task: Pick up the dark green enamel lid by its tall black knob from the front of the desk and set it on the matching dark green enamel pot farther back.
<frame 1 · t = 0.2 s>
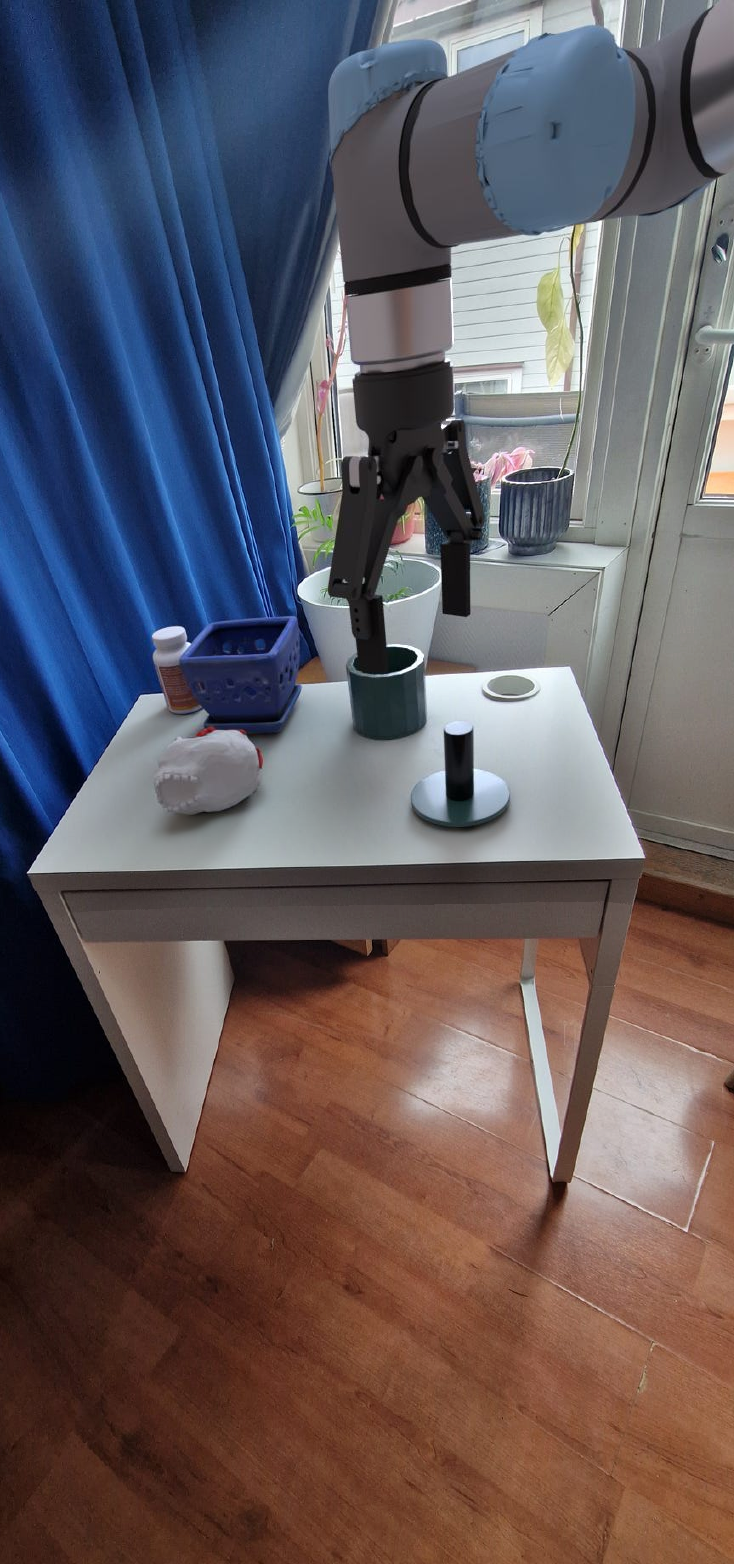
hand: (417, 641, 67), 19 cm above the table, tool pointing down, fingers open, 13 cm apart
pot: (390, 721, 96), on the table
pill bottle: (188, 706, 108), on the table
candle: (224, 796, 88), on the table
lid: (459, 798, 79), point 1 cm above the table
flower pot: (257, 720, 102), on the table
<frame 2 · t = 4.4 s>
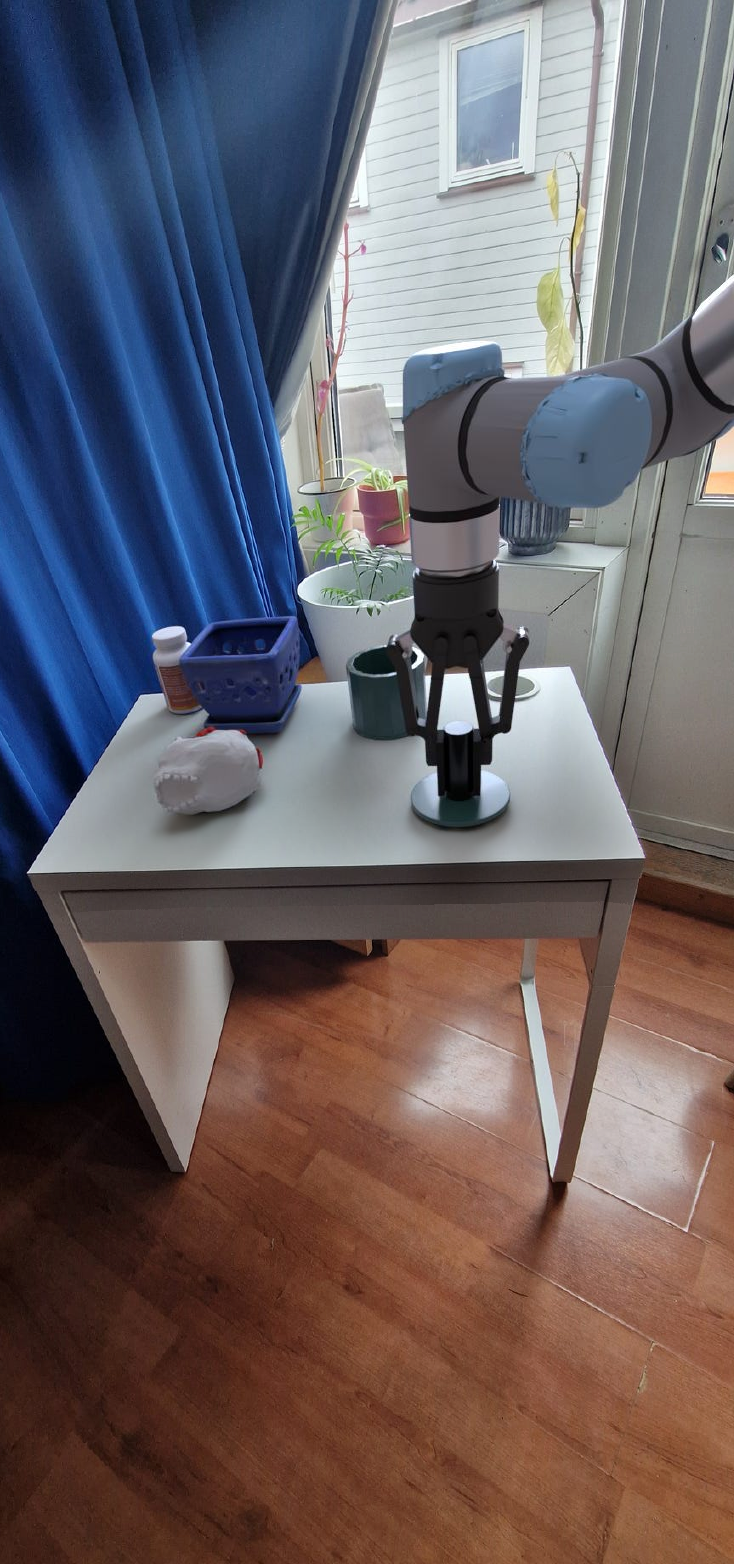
hand: (459, 788, 79), 2 cm above the table, tool pointing down, fingers closed on lid, 3 cm apart
lid: (459, 798, 79), point 1 cm above the table, touching gripper
everything else where it was.
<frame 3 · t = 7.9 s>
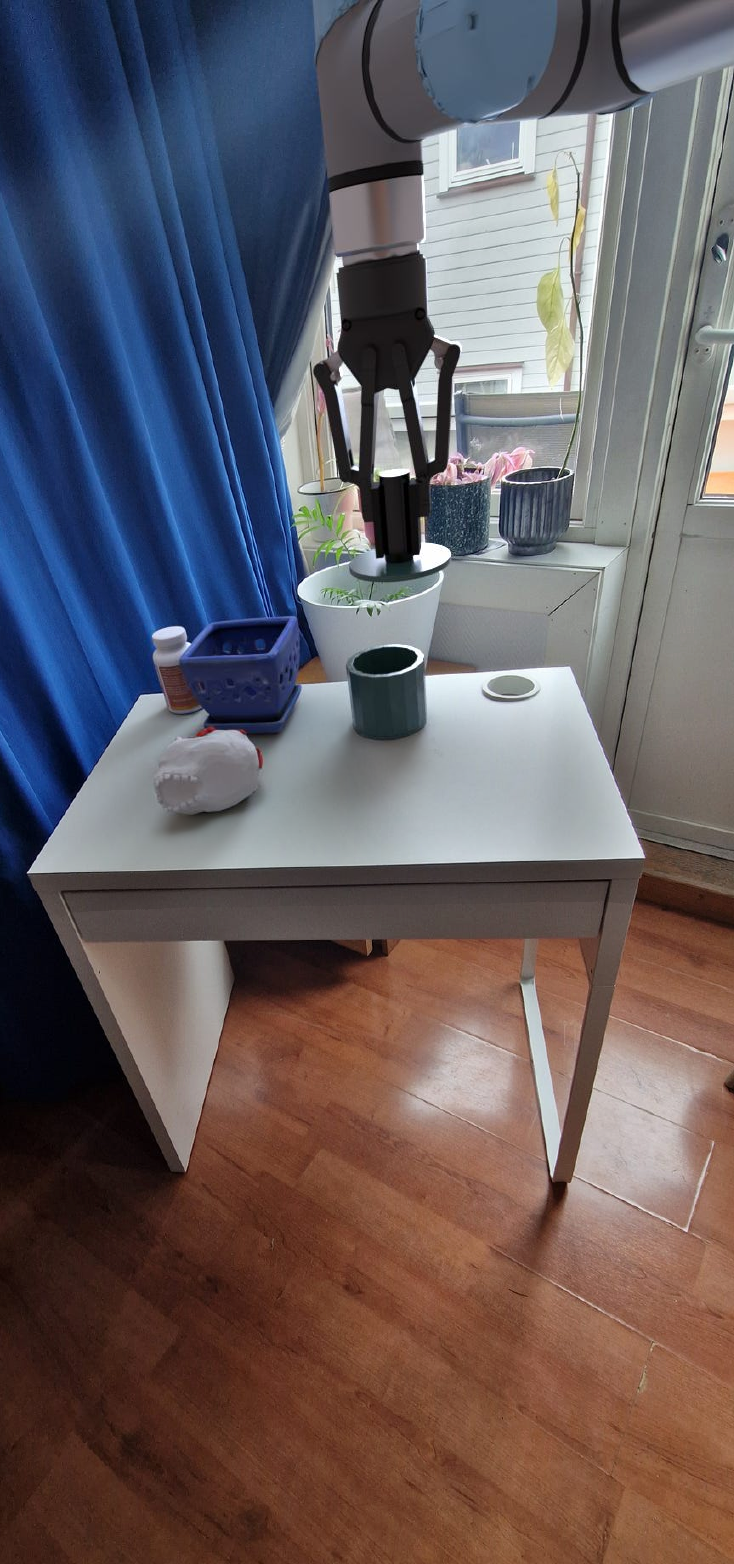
hand: (399, 552, 75), 23 cm above the table, tool pointing down, fingers closed on lid, 3 cm apart
lid: (399, 564, 76), point 22 cm above the table, touching gripper
everything else where it was.
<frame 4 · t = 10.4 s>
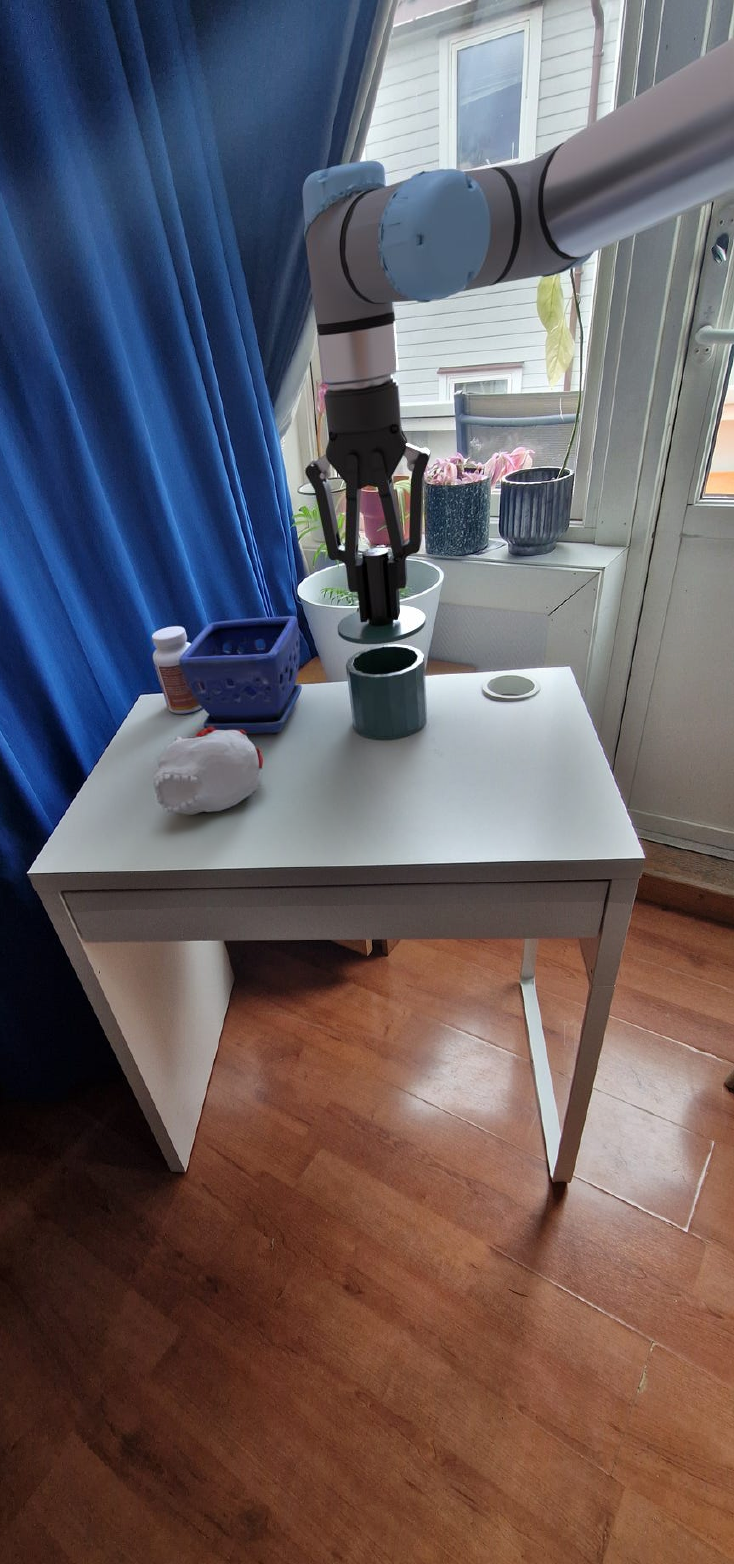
hand: (380, 616, 87), 14 cm above the table, tool pointing down, fingers closed on lid, 3 cm apart
lid: (381, 626, 88), point 13 cm above the table, touching gripper
everything else where it was.
when the fingers open (10 cm above the table, at t = 11.7 s): lid stays where it is, resting on pot.
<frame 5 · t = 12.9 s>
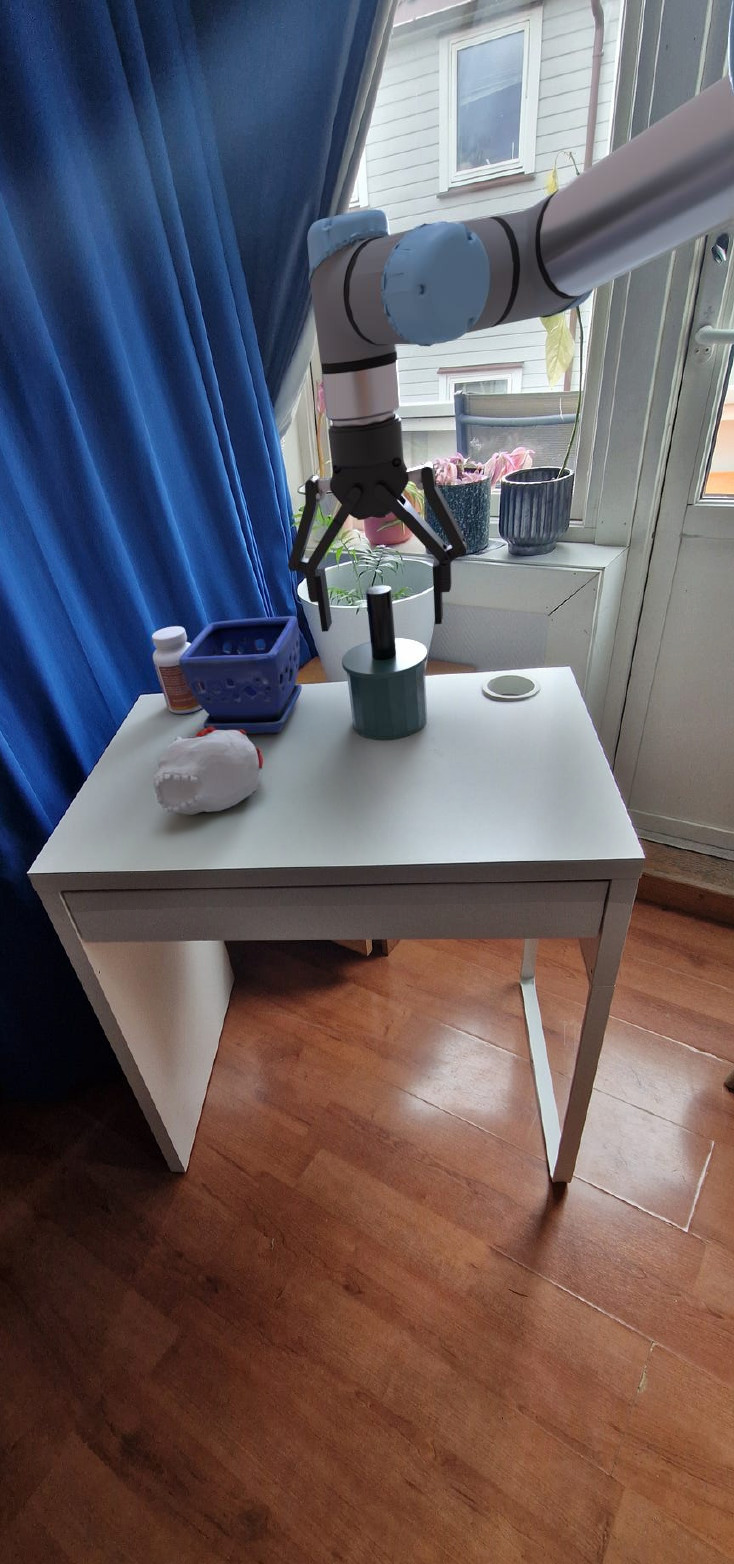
hand: (382, 624, 88), 13 cm above the table, tool pointing down, fingers open, 13 cm apart
lid: (384, 659, 91), point 8 cm above the table, touching pot
everything else where it was.
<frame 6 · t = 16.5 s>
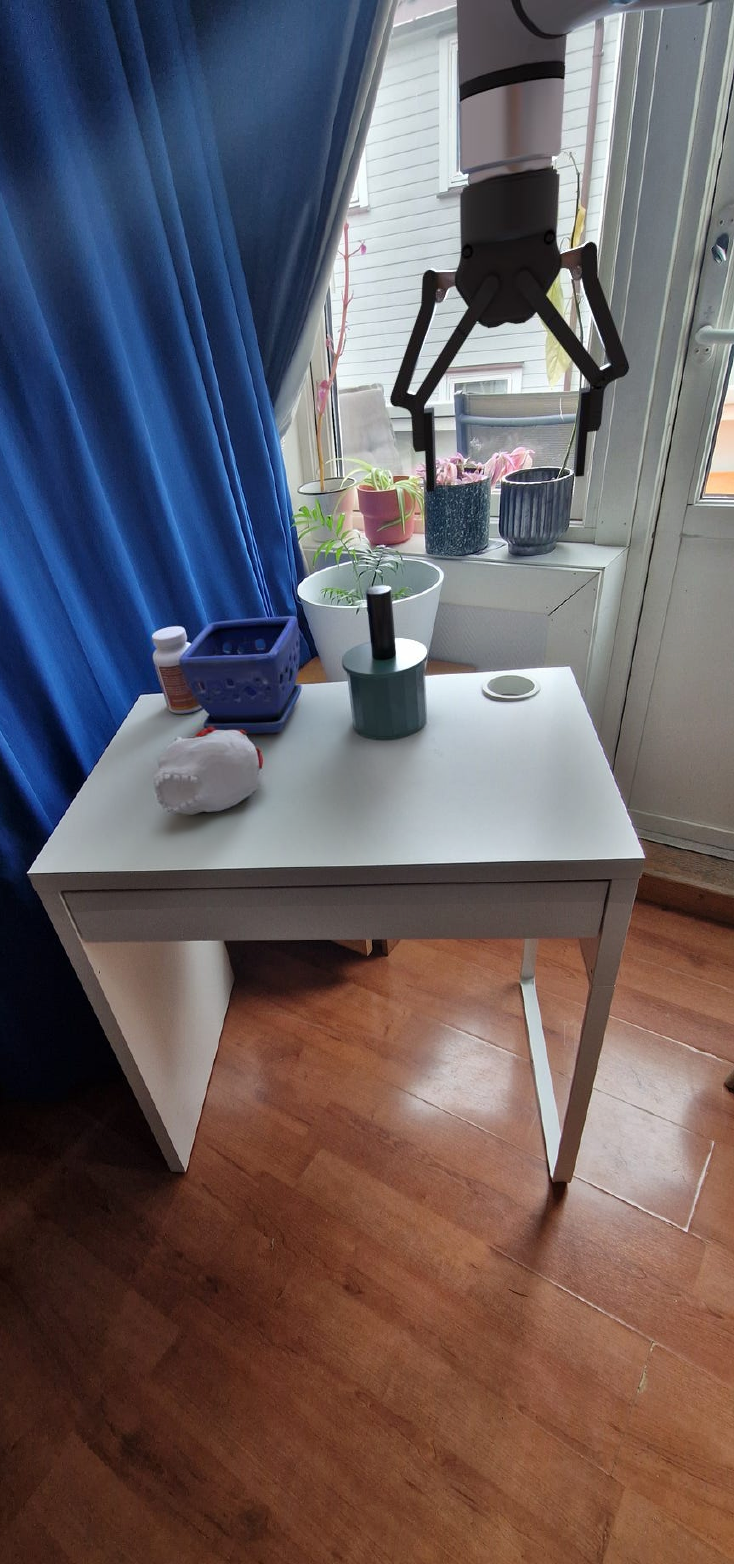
hand: (503, 481, 70), 29 cm above the table, tool pointing down, fingers open, 13 cm apart
nothing on the table moved.
at the end: lid 0.0 cm off-centre on the pot, point 8.5 cm above the pot's base; lid tilted 0°; the gripper is holding nothing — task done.
